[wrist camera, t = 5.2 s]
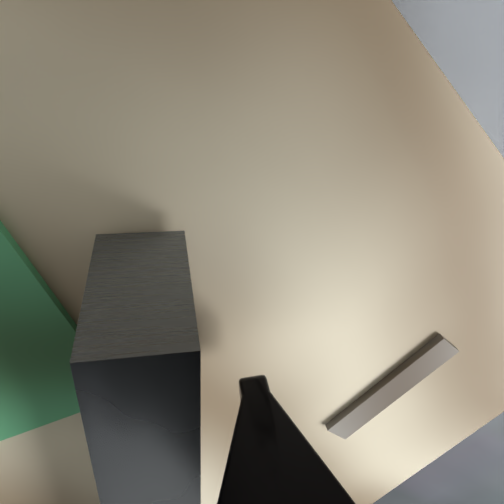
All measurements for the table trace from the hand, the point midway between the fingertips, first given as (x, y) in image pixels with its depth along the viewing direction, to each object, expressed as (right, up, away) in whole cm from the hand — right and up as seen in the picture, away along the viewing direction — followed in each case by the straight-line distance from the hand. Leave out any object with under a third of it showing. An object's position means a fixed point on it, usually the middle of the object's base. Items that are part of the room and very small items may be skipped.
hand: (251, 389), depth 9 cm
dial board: (-2, -1, +3) cm, 3 cm away
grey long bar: (-2, -3, +2) cm, 4 cm away
